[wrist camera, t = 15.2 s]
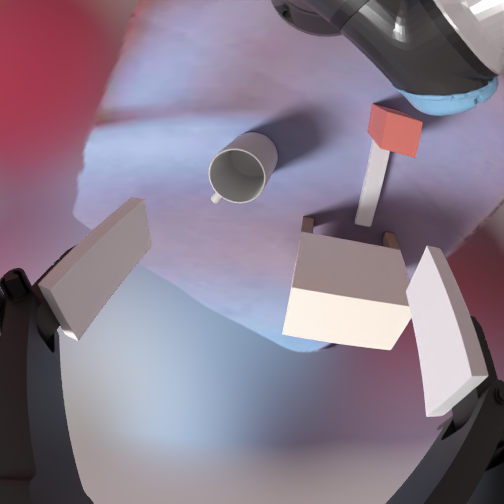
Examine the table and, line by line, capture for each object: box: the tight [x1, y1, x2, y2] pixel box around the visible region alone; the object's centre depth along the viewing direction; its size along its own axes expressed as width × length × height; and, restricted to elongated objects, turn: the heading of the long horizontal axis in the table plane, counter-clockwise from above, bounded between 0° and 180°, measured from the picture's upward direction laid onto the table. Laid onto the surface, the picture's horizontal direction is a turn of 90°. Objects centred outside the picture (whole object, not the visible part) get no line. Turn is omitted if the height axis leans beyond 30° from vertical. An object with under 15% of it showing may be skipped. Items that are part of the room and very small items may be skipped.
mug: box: [209, 132, 278, 203], centre depth 44 cm, size 12×8×11 cm
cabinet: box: [282, 216, 412, 350], centre depth 46 cm, size 10×19×20 cm, turn 87°
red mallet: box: [355, 104, 423, 227], centre depth 39 cm, size 22×5×11 cm, turn 177°
